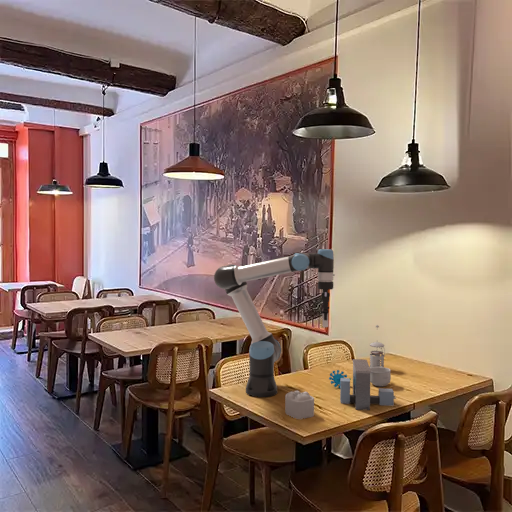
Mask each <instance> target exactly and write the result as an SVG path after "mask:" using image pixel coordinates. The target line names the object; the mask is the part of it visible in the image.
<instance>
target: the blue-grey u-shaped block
mask: <svg viewBox="0 0 512 512" xmlns="http://www.w3.org/2000/svg"><path fill="white" fill-rule="evenodd" d="M349 378H350V377H348V378H347V377H344V378H341V380H340V385H339V386H340V388H339V390H340V391H339V392H340V395H339V396H340V397H339V398H340V399H339V400H340V404H355V395H353V394H351V380H350V379H351V378H350V379H349ZM377 393H378V394H377V395H374V394H373V395H371V394H370V405H379V406H390V407H391V406H392V407H394V405H395V404H394V403H395V402H394V401H395V400H397V397H396V395H395V394H394V393H395V392H394V390H393V388H382V387H378V392H377Z"/></svg>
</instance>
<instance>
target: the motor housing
mask: <svg viewBox="0 0 512 512" xmlns="http://www.w3.org/2000/svg"><path fill="white" fill-rule="evenodd" d="M370 373H371V370H370V364H369V362H368V360H367V359H364V358H363V359H360V358H357V359H356V358H355V359H352V395H355V403H354V407H355V410H358V411H370V410H371V404H370V395H371V382H370Z"/></svg>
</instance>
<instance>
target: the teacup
mask: <svg viewBox="0 0 512 512" xmlns="http://www.w3.org/2000/svg"><path fill="white" fill-rule="evenodd" d="M370 370H371V373H370V384H372V385H375V386H374V387H379V388H382V387H387V386H388V385H389V384H390V382H391V380H392V379H391V377H392V376H391V372H392V371H391V369H390V368H388V367H385V366H384V367H374V368H370Z"/></svg>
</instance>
